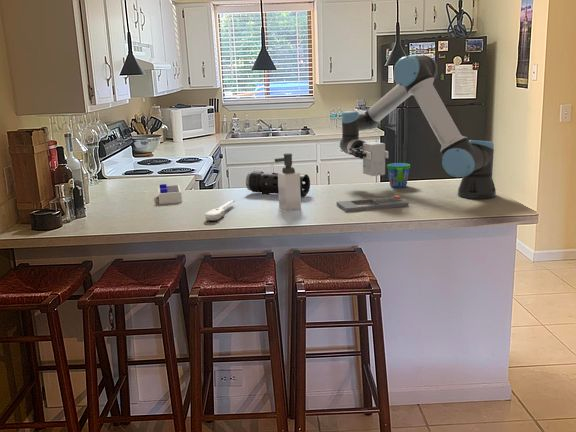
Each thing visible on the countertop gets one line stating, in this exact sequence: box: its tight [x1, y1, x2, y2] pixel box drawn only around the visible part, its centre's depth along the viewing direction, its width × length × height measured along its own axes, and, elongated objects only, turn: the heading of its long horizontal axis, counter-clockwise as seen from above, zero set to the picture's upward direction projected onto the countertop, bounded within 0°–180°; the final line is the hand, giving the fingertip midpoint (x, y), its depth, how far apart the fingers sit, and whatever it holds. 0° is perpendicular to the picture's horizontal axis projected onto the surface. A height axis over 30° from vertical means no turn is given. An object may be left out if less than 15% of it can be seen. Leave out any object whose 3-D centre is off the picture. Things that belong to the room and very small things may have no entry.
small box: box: [362, 141, 386, 177], centre depth 238 cm, size 8×6×13 cm
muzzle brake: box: [245, 170, 311, 198], centre depth 255 cm, size 10×28×10 cm, turn 64°
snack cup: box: [386, 162, 411, 188], centre depth 264 cm, size 16×10×10 cm
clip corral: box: [157, 184, 183, 205], centre depth 256 cm, size 10×18×4 cm, turn 13°
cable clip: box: [159, 183, 168, 193], centre depth 256 cm, size 12×4×6 cm, turn 13°
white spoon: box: [204, 199, 236, 222], centre depth 227 cm, size 28×6×3 cm, turn 167°
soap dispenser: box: [274, 153, 302, 212], centre depth 228 cm, size 6×9×22 cm
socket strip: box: [336, 194, 410, 213], centre depth 230 cm, size 26×12×2 cm, turn 103°
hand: (379, 155), depth 233 cm, fingers closed on small box, 7 cm apart
